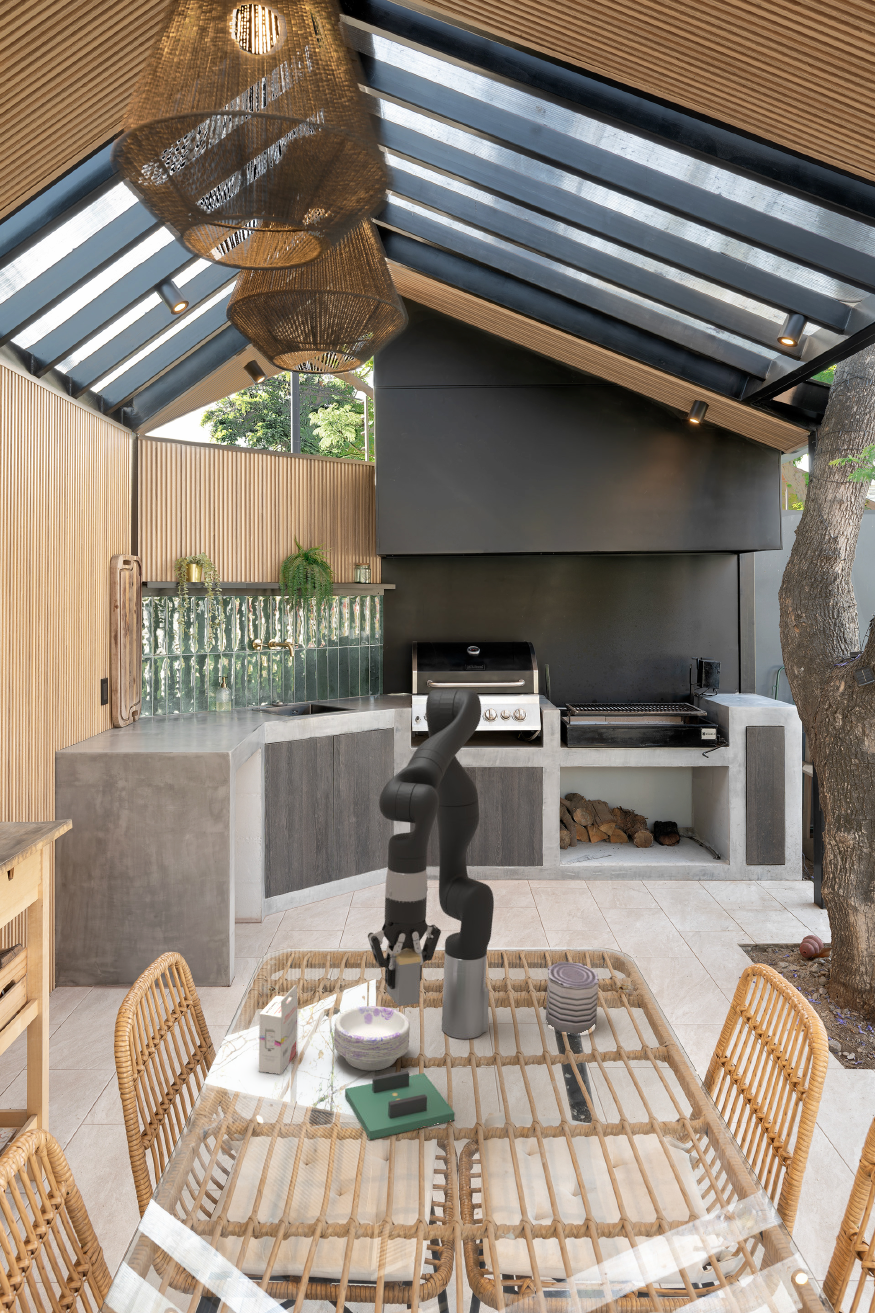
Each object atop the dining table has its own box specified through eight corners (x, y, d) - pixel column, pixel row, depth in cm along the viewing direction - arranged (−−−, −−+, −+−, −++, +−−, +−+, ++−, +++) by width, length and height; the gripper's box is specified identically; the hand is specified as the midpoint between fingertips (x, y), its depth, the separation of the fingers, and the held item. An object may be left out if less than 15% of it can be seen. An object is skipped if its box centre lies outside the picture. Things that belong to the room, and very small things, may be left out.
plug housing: (406, 989, 157) (408, 944, 157) (419, 1003, 152) (420, 956, 151) (386, 992, 156) (388, 946, 155) (398, 1006, 150) (400, 959, 150)
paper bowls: (397, 1036, 181) (398, 1000, 181) (417, 1074, 167) (419, 1034, 166) (326, 1045, 176) (328, 1008, 176) (341, 1084, 162) (342, 1043, 162)
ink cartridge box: (274, 1050, 174) (276, 980, 173) (296, 1053, 173) (299, 983, 172) (256, 1072, 165) (259, 998, 164) (280, 1075, 164) (283, 1001, 163)
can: (590, 1013, 196) (593, 962, 195) (601, 1037, 184) (604, 983, 184) (541, 1012, 195) (543, 961, 195) (549, 1036, 184) (551, 982, 183)
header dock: (423, 1080, 164) (424, 1060, 164) (454, 1120, 152) (455, 1099, 151) (344, 1096, 158) (345, 1075, 158) (369, 1140, 145) (370, 1117, 145)
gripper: (433, 882, 159) (430, 972, 160) (362, 890, 153) (359, 982, 154) (450, 895, 152) (447, 988, 153) (376, 903, 147) (372, 1000, 147)
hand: (402, 985), depth 154 cm, fingers closed on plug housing, 4 cm apart
